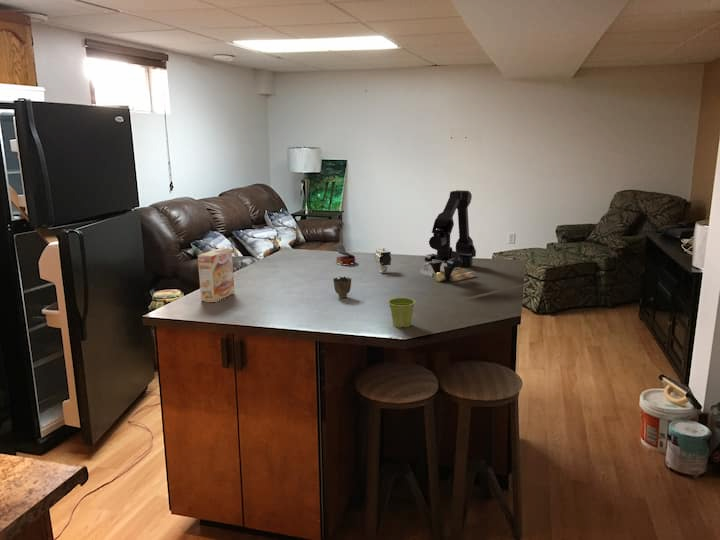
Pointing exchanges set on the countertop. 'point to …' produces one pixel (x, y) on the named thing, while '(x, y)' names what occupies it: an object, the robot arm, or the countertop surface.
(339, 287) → the cup
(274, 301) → the countertop surface
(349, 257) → the canned food
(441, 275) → the axle
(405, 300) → the plant pot
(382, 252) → the pneumatic valve
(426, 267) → the cradle
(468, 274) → the beam
